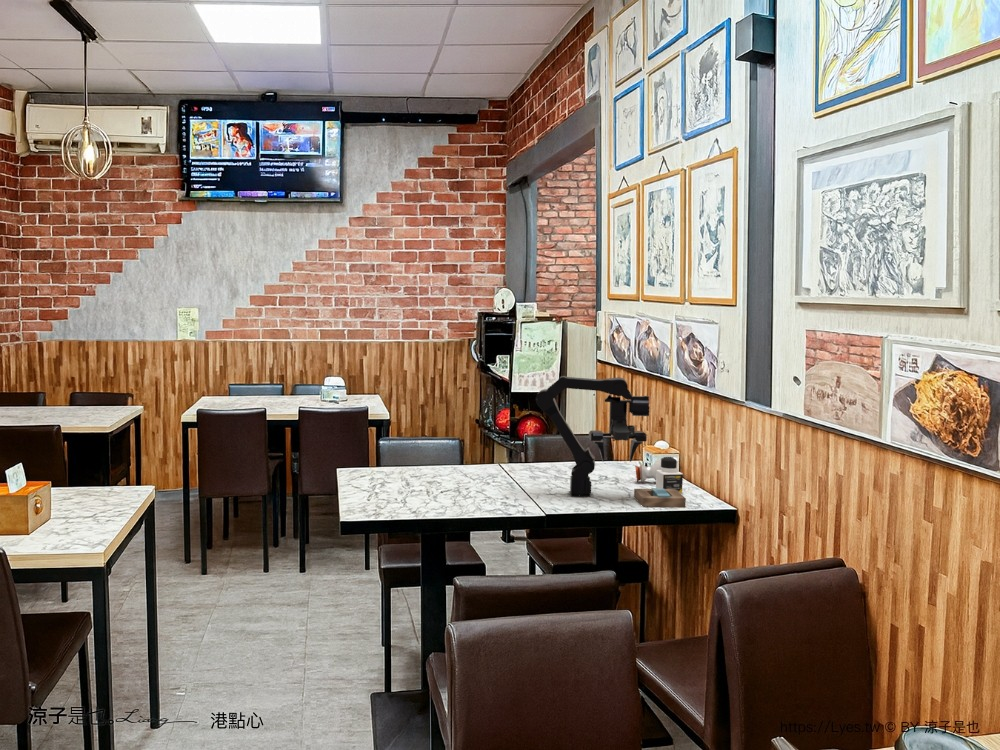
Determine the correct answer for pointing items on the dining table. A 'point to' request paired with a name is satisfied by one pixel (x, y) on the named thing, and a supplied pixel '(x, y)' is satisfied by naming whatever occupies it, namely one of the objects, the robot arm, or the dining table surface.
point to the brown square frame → (659, 498)
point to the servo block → (660, 492)
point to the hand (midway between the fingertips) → (616, 461)
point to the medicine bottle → (669, 474)
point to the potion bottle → (648, 471)
